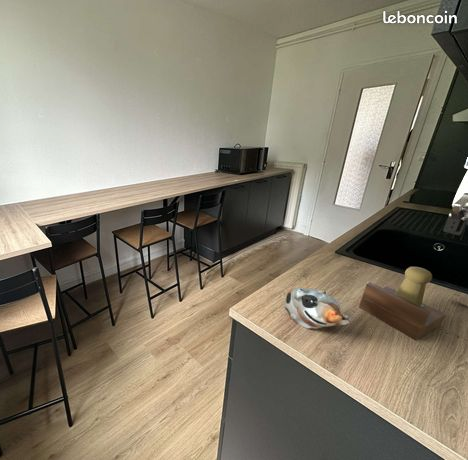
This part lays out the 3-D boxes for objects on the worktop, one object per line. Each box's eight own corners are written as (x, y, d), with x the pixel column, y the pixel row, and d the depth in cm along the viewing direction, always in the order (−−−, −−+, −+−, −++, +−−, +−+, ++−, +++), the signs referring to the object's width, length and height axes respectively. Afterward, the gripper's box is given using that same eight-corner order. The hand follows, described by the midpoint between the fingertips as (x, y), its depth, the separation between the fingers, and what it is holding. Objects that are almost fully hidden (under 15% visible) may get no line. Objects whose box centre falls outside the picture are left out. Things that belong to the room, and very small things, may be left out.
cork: (390, 293, 76) (403, 261, 71) (417, 299, 73) (432, 267, 68) (394, 305, 71) (408, 272, 67) (423, 312, 68) (440, 278, 64)
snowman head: (342, 315, 74) (368, 296, 63) (325, 348, 69) (349, 334, 58) (293, 284, 81) (308, 263, 70) (274, 313, 76) (287, 294, 65)
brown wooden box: (382, 296, 81) (391, 272, 77) (440, 325, 69) (454, 299, 65) (358, 307, 77) (366, 282, 73) (415, 340, 65) (428, 313, 61)
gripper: (498, 169, 53) (465, 242, 59) (532, 159, 59) (498, 226, 65) (449, 165, 59) (424, 231, 66) (484, 156, 65) (457, 218, 72)
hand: (461, 229), depth 66 cm, fingers open, 9 cm apart
